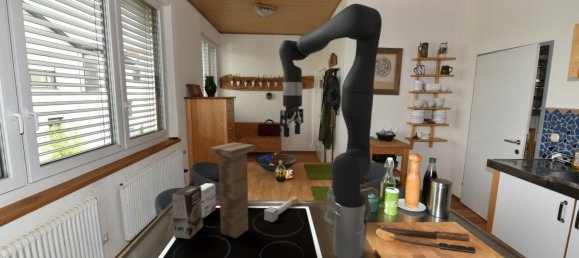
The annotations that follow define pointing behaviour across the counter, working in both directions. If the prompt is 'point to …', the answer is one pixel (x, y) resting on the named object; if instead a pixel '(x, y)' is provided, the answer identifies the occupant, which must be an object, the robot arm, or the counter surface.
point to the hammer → (279, 209)
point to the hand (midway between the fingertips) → (292, 135)
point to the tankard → (331, 202)
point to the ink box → (208, 199)
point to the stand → (233, 187)
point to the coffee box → (187, 211)
